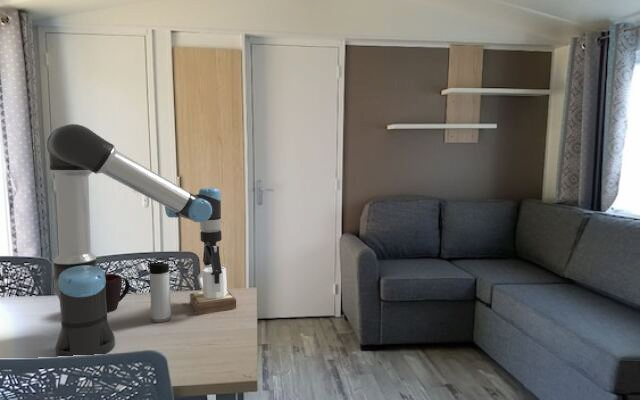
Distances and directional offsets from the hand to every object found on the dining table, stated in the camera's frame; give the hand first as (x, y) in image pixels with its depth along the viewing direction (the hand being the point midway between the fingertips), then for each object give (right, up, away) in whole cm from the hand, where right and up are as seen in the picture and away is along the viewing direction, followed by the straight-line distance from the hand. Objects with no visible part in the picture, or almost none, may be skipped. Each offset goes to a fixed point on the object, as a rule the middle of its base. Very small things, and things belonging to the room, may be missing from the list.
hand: (212, 286), depth 163 cm
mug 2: (-1, -3, +1) cm, 3 cm away
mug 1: (-36, -8, -2) cm, 37 cm away
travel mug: (-14, -9, -13) cm, 21 cm away
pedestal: (0, -7, +1) cm, 7 cm away
